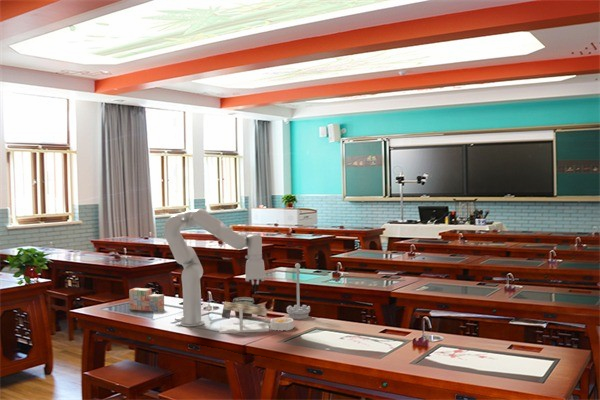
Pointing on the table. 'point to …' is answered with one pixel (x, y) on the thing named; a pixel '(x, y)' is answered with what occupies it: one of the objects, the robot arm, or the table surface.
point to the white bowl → (282, 324)
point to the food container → (243, 301)
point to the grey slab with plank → (246, 309)
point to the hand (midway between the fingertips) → (255, 291)
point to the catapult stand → (243, 326)
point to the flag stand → (298, 303)
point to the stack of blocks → (145, 300)
